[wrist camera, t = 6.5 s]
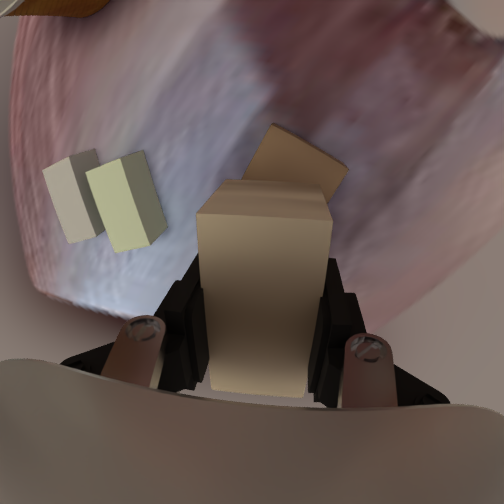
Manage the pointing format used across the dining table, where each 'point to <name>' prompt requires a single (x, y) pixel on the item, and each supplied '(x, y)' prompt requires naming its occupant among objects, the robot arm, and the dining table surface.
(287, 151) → the walnut base
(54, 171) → the grey brick
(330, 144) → the dining table surface
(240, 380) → the beech brick
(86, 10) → the disposable coffee cup
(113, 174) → the sage brick
